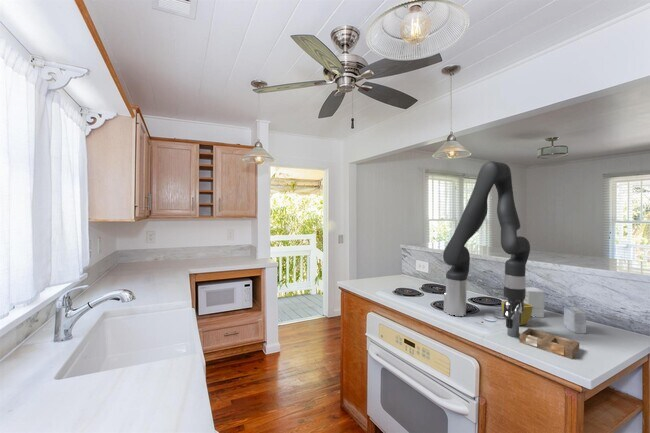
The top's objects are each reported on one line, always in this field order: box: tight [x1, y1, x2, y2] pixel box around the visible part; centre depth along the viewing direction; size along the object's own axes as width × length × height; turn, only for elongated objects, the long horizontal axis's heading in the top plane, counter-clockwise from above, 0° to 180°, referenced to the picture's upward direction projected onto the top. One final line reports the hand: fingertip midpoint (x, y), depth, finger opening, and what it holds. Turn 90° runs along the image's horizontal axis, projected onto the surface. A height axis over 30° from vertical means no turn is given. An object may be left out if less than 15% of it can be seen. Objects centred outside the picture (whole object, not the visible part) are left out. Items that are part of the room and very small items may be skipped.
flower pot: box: [500, 300, 533, 326], centre depth 135 cm, size 9×9×9 cm
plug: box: [506, 311, 520, 338], centre depth 122 cm, size 4×4×10 cm
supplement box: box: [524, 286, 546, 318], centre depth 145 cm, size 7×7×13 cm
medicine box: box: [563, 306, 587, 335], centre depth 128 cm, size 8×4×9 cm, turn 168°
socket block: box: [519, 327, 580, 360], centre depth 113 cm, size 16×10×3 cm, turn 39°
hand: (513, 325), depth 122 cm, fingers open, 8 cm apart
